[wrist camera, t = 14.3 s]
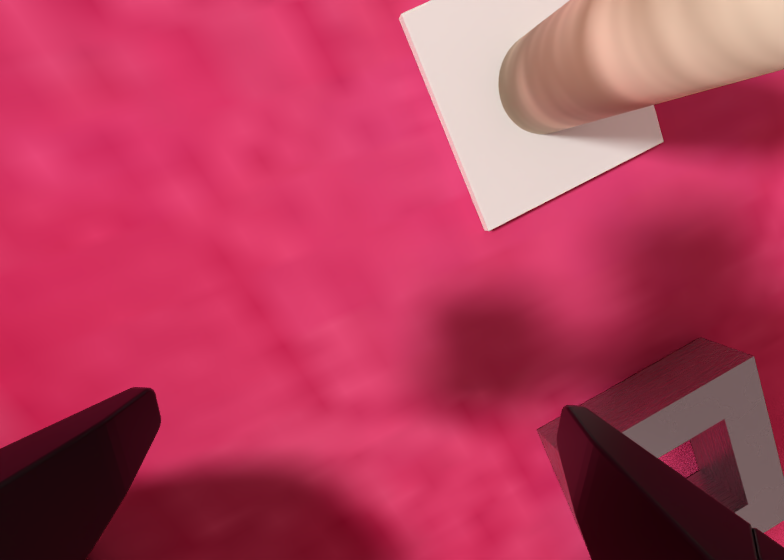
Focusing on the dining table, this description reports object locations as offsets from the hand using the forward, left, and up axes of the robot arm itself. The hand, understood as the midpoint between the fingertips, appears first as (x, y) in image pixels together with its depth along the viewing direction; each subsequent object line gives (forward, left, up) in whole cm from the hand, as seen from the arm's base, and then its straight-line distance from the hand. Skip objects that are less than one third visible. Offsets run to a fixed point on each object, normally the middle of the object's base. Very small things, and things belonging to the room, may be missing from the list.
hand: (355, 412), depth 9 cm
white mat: (+13, +5, -11) cm, 18 cm away
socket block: (+12, -17, -11) cm, 24 cm away
